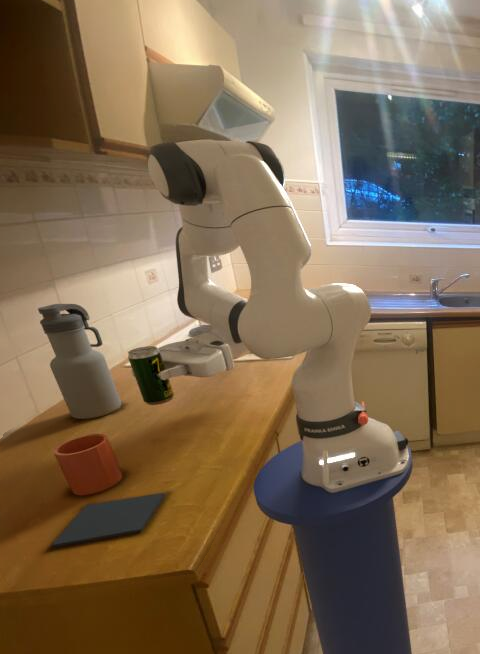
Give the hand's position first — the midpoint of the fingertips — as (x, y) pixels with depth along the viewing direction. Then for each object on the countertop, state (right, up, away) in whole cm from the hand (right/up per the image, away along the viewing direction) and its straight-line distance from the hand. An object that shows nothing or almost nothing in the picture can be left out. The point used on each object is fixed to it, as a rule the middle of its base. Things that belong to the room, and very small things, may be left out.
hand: (146, 375), depth 94 cm
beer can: (0, -6, +3) cm, 7 cm away
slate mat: (+9, -25, -18) cm, 32 cm away
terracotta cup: (-2, -21, -9) cm, 23 cm away
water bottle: (-28, -10, +19) cm, 35 cm away
